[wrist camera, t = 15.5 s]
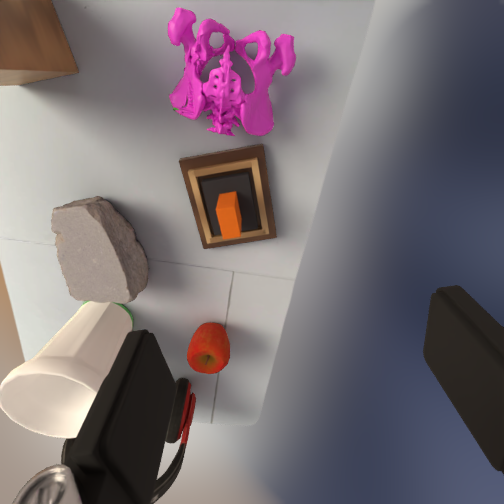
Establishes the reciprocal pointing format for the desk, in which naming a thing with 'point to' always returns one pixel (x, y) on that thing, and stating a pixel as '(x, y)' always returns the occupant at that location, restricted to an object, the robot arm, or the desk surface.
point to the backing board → (226, 165)
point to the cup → (67, 371)
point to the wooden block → (32, 43)
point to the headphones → (177, 424)
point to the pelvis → (227, 75)
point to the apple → (209, 349)
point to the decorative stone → (98, 252)
